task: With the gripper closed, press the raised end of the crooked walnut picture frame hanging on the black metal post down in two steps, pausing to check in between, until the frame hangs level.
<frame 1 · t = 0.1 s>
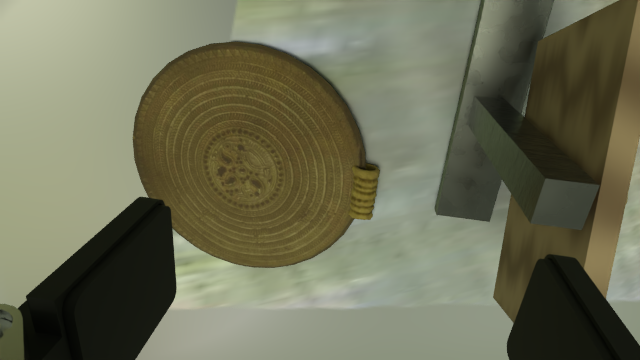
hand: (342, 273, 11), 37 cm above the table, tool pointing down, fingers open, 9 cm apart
frame post: (486, 108, 45), on the table
picture frame: (558, 184, 32), point 14 cm above the table, hinge at 18.0°
decorative disc: (254, 163, 52), on the table
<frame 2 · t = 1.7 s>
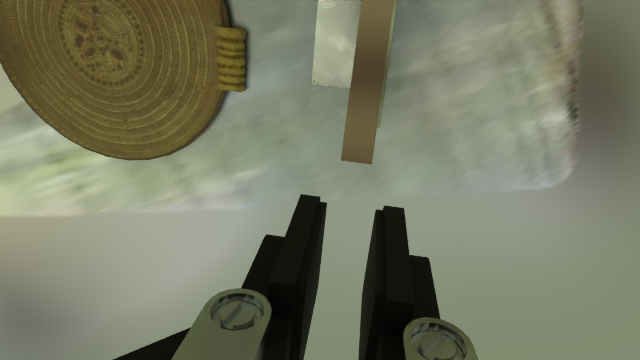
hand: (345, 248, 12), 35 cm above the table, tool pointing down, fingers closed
decorative disc: (117, 34, 47), on the table
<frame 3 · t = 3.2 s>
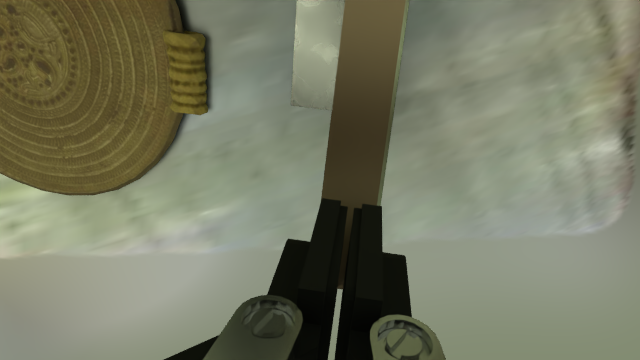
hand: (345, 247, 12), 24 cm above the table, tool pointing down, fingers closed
decorative disc: (45, 41, 37), on the table
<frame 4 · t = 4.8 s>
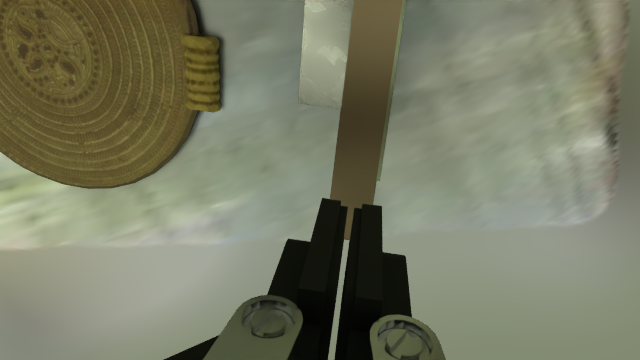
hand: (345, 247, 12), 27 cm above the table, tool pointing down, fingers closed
decorative disc: (69, 43, 39), on the table
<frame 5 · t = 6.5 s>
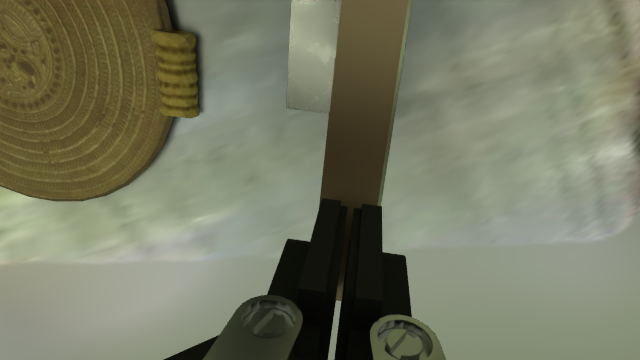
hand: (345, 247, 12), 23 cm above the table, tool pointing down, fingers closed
decorative disc: (28, 40, 35), on the table
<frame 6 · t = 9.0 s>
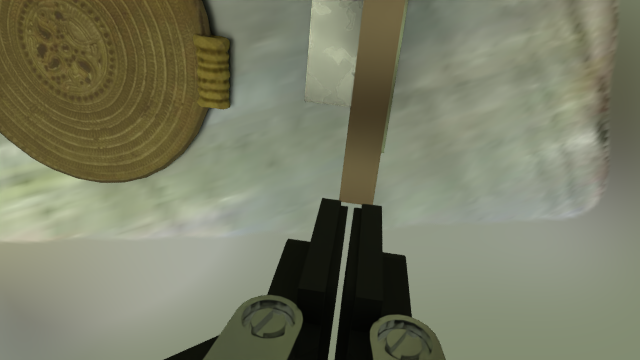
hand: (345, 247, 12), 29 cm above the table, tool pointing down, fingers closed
decorative disc: (86, 43, 41), on the table
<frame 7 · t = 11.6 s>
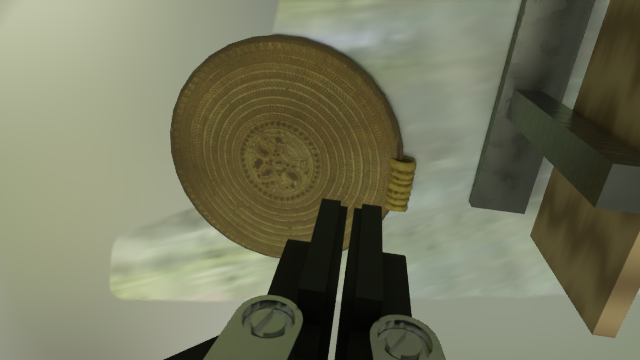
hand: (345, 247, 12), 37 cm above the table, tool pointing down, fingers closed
frame post: (524, 101, 45), on the table
picture frame: (616, 151, 33), point 14 cm above the table, hinge at 0.7°
decorative disc: (290, 156, 52), on the table
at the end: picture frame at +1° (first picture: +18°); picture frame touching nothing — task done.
